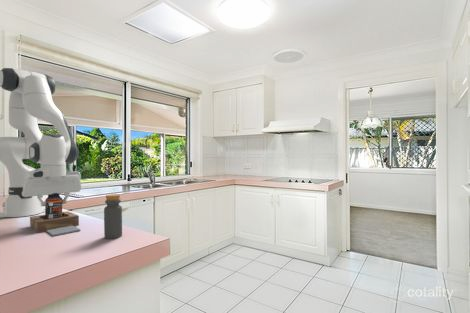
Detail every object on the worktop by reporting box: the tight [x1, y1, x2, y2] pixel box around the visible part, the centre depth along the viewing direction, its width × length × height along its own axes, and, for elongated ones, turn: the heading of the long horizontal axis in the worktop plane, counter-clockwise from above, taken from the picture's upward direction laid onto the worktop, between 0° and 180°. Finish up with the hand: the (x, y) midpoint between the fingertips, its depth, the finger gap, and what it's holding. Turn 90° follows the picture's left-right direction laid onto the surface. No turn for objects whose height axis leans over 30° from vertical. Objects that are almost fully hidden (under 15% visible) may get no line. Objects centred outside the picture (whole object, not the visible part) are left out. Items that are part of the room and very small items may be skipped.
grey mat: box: [46, 226, 81, 237], centre depth 102 cm, size 9×9×1 cm
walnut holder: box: [29, 210, 80, 234], centre depth 110 cm, size 14×14×4 cm
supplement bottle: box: [44, 193, 64, 220], centre depth 110 cm, size 6×6×11 cm
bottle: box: [103, 193, 123, 240], centre depth 95 cm, size 6×6×15 cm
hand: (53, 204), depth 111 cm, fingers closed on supplement bottle, 6 cm apart
